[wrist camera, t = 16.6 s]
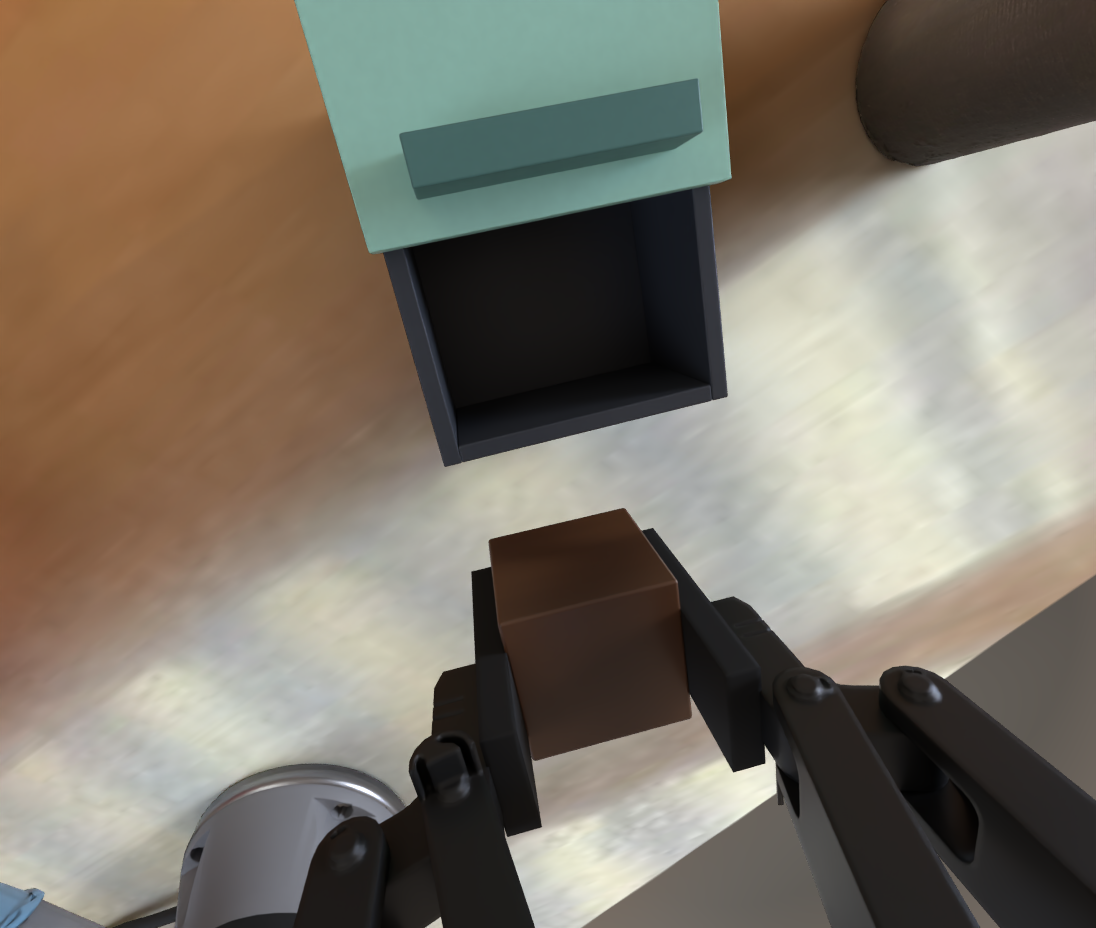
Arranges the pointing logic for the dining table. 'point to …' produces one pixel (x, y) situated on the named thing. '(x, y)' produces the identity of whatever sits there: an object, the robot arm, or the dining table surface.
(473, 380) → the bin
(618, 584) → the block
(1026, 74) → the pillar candle
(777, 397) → the dining table surface
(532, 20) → the lid
